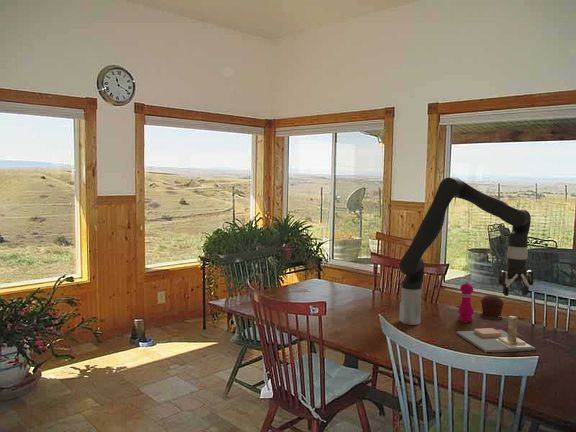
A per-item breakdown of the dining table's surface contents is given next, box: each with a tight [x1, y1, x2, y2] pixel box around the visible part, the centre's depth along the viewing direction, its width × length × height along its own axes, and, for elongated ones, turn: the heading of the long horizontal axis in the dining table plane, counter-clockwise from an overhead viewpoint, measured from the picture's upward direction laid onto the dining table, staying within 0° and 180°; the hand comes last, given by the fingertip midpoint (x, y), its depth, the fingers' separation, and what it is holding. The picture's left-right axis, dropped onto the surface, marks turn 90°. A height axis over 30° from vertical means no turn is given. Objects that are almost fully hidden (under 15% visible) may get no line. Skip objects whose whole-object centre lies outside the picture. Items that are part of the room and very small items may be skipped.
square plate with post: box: [498, 315, 527, 345], centre depth 201 cm, size 8×7×11 cm
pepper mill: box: [457, 280, 475, 323], centre depth 236 cm, size 7×7×20 cm
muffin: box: [480, 294, 505, 318], centre depth 247 cm, size 12×11×10 cm
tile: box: [473, 327, 501, 337], centre depth 212 cm, size 2×7×9 cm
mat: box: [456, 329, 536, 354], centre depth 206 cm, size 22×24×1 cm
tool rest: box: [495, 339, 533, 348], centre depth 201 cm, size 10×10×1 cm
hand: (515, 295), depth 199 cm, fingers open, 8 cm apart
